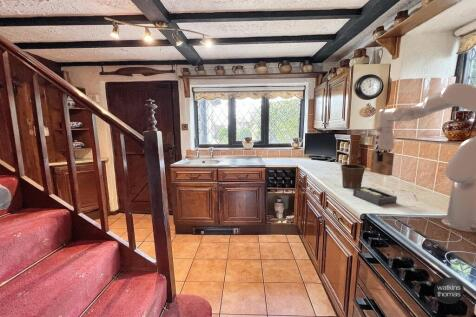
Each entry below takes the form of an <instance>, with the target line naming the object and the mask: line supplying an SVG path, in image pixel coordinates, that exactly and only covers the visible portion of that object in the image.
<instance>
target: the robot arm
mask: <svg viewBox="0 0 476 317" xmlns="http://www.w3.org/2000/svg"><path fill="white" fill-rule="evenodd" d="M453 107H458V108H462V109H465V110H468V111H471V112H474V113H476V87H475V86H472V85H471V84H468V83H460V82H455V83H451V84H449V85H447V86H445V87H444V88H443V89H442V90H441V91H439V92H437V93H436V92H435V93H434V94H431V95H428V96H426V98H424V101H422V102H420V103H418V104H415V105H412V106H409V107H393V108H382V109H379V110H378V119H377V128H376V133H375V138H374V142H373V143H374V144H373V150H372V151H375V152H376V154H377V161H380V162H382V157H383V155H382V152H388V153H391V152H392V150H393V149H394V142H395V138H394V133H393V131H394V130H393V126H394V122H410V121H413V120H417V119H422V118H424V117H427V116H429V115H431V114H434V113H436V112H440V111H443V110H446V109H447V110H448V109H450V108H453ZM445 175H446V177H447V178H448V179H449V180H450V181H452V185H451V187H450V188H451V189H450V194H449V195H450V196H449V201H448V205H447V206H448V208H447V213H446V217H445V218H442V219H441V220H440V221H441V223H442V224H443V226H445V227H448V228H451V229H454V230H457V231H460V232H465V233H476V136H474V137H471V138H467V139H466V140H463V142H461V144H460V145H459V146H458V147H457V149H456V151H455V152H454V153H453V156H452V157H451V159H450V160H449V162H448V164H447V165H446V167H445Z"/></svg>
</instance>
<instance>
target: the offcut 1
mask: <svg viewBox="0 0 476 317" xmlns="http://www.w3.org/2000/svg"><path fill="white" fill-rule="evenodd" d="M359 189H360V191H361V192H364V193H367V194H369V192H372V191H370V190H367V189H363V188H359Z"/></svg>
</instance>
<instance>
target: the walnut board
mask: <svg viewBox="0 0 476 317" xmlns="http://www.w3.org/2000/svg"><path fill="white" fill-rule="evenodd" d="M382 155H383V157H382V162H380V161H377V154H376V152H375V151H374V150H372V151H371V159H370V160H371V163H370V172H371V173H374V174H375V173H376V174H379V175H383V176H388V177H389V176H393V168H394V167H393V166H394V156H395V153H393V152H389V153H388V152H383V151H382Z"/></svg>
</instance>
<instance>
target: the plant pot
mask: <svg viewBox="0 0 476 317" xmlns="http://www.w3.org/2000/svg"><path fill="white" fill-rule="evenodd" d="M340 168H341V169H340V170H341V177H342V178H341V179H342V182H341V183H342V184H341V185H342V188H345V189H353V190H354V189H362V183H363V177H364V174H365V170H366V166H365V165H362V164H352V163H351V164H350V163H347V164H340Z"/></svg>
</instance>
